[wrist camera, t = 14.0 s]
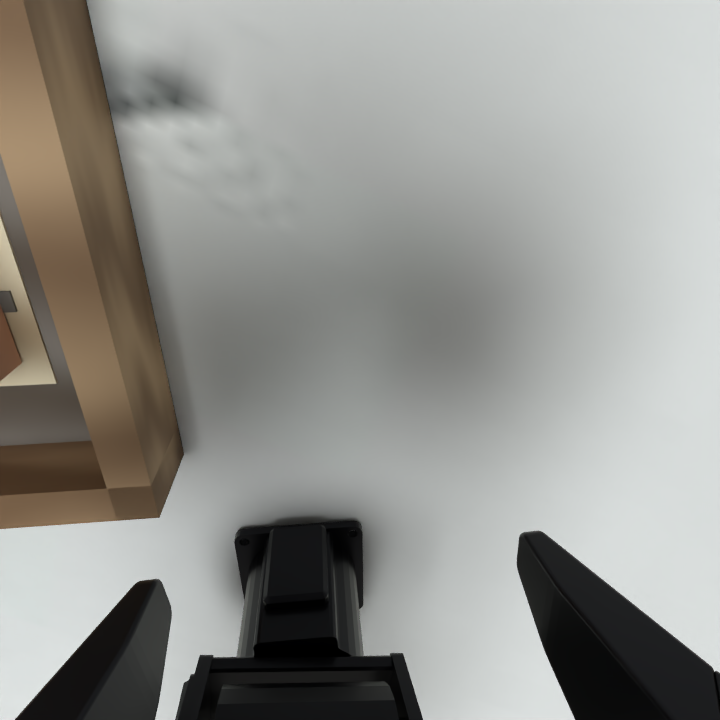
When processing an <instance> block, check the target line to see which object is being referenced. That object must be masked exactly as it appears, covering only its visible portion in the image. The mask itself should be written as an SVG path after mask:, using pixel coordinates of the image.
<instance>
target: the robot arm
mask: <svg viewBox="0 0 720 720" xmlns="http://www.w3.org/2000/svg"><path fill="white" fill-rule="evenodd" d="M351 530H355V531H351ZM243 538H245V539H247V540H245V539H243ZM235 549H236V554H237V560H238V566H239V571H240V577H241V583H242V588H243V594H244V600H245V601H244V608H243V615H242V623H241V630H240V637H239V644H238V651H237V657H214V658H213V655H200V657H199V660H198V664H197V667H196V671H195V674H191V676H190V679H189V680H188V681H187V682H185V683H184V685H183V689H182V694H181V698H180V702H179V707H178V711H177V715H176V719H175V720H423V718H422V715H421V711H420V708H419V705H418V702H417V698H416V695H415V692H414V688H413V685H412V682H411V679H410V675H409V672H408V669H407V665H406V662H405V659H404V656H403V653H390V656H364V655H363V644H362V634H361V624H360V613H359V609H360V608H361V607H362V606H363V549H362V527H361V524H360V523H359V522H357V521H343V522H329V523H316V524H302V525H289V526H276V527H262V528H249V529H241V530H239V531H238V532H237V533H236V536H235ZM517 568H518V573H519V576H520V579H521V582H522V585H523V588H524V591H525V594H526V597H527V600H528V603H529V606H530V609H531V612H532V615H533V618H534V621H535V624H536V627H537V630H538V633H539V636H540V639H541V642H542V645H543V647H544V650H545V653H546V655H547V657H548V660H549V662H550V664H551V667H552V669H553V671H554V673H555V676H556V678H557V680H558V682H559V685H560V687H561V689H562V691H563V693H564V696H565V698H566V700H567V702H568V705H569V707H570V709H571V711H572V714H573V716H574V718H575V720H720V673H719V672H718V671H715V672H714V670H713V668H712V667H711V666H710V665H709V664H708V663H706V662H705V661H704V660H703V659H701V658H700V657H699V656H698V655H696V654H695V653H694V652H693V651H691V650H690V649H689V648H688V647H686V646H685V645H684V644H683V643H681V642H680V641H679V640H678V639H676V638H675V637H674V636H673V635H671V634H670V633H669V632H668V631H666V630H665V629H664V628H663V627H661V626H660V625H659V624H658V623H656V622H655V621H654V620H652V619H651V618H650V617H649V616H647V615H646V614H645V613H644V612H642V611H641V610H640V609H639V608H637V607H636V606H635V605H634V604H632V603H631V602H630V601H629V600H627V599H626V598H625V597H624V596H622V595H621V594H620V593H619V592H617V591H616V590H615V589H614V588H612V587H611V586H610V585H609V584H607V583H606V582H605V581H604V580H602V579H601V578H600V577H599V576H597V575H596V574H595V573H594V572H592V571H591V570H590V569H589V568H587V567H586V566H585V565H584V564H582V563H581V562H580V561H579V560H577V559H576V558H575V557H574V556H572V555H571V554H570V553H569V552H567V551H566V550H565V549H564V548H562V547H561V546H560V545H558V544H557V543H556V542H555V541H553V540H552V539H551V538H550V537H548V536H547V535H546V534H545V533H543V532H541V531H531V532H524V533H521V535H520V537H519V545H518V554H517ZM171 616H172V612H171V605H170V603H169V600H168V597H167V595H166V592H165V589H164V587H163V584H162V582H161V581H160V580H159V579H152V580H144V581H139V582H137V583H136V584H135V585H134V586H133V587H132V588H131V589H130V590H129V591H128V592H127V594H126V595H125V596H124V597H123V598H122V599H121V600H120V602H119V603H118V604H117V605H116V606H115V607H114V608H113V609H112V611H111V612H110V613H109V614H108V615H107V616H106V617H105V618H104V620H103V621H102V622H101V623H100V624H99V625H98V626H97V627H96V629H95V630H94V631H93V632H92V633H91V634H90V635H89V637H88V638H87V639H86V640H85V641H84V642H83V643H82V644H81V646H80V647H79V648H78V649H77V650H76V651H75V652H74V653H73V655H72V656H71V657H70V658H69V659H68V660H67V661H66V662H65V664H64V665H63V666H62V667H61V668H60V669H59V670H58V671H57V673H56V674H55V675H54V676H53V677H52V678H51V679H50V681H49V682H48V683H47V684H46V685H45V686H44V687H43V688H42V690H41V691H40V692H39V693H38V694H37V695H36V696H35V697H34V699H33V700H32V701H31V702H30V703H29V704H28V705H27V706H26V708H25V709H24V710H23V711H22V712H21V713H20V714H19V716H18V717H17V718H16V719H15V720H155V717H156V712H157V708H158V703H159V697H160V691H161V685H162V678H163V671H164V665H165V658H166V651H167V645H168V638H169V631H170V624H171Z"/></svg>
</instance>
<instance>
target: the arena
mask: <svg viewBox="0 0 720 720" xmlns="http://www.w3.org/2000/svg"><path fill="white" fill-rule="evenodd" d="M0 305H1V308H2V311H3V313H4V316H5V319H6V321H7V324H8V327H9V330H10V332H11V335H12V338H13V340H14V343H15V346H16V348H17V351H18V354H19V357H20V359H21V362H22V364H20V365H19V366H18V367H17V368H16V369H14V370H13V371H12V372H11V373H9V374H8V375H7V376H6V377H5V378H3V379H2V380H1V381H0V529H6V528H20V527H34V526H48V525H62V524H76V523H90V522H104V521H117V520H131V519H145V518H159V517H160V515H161V512H162V509H163V507H164V504H165V502H166V499H167V496H168V494H169V491H170V489H171V486H172V484H173V481H174V478H175V476H176V473H177V471H178V468H179V465H180V463H181V460H182V458H183V455H184V452H183V448H182V443H181V438H180V434H179V429H178V425H177V420H176V415H175V411H174V406H173V401H172V397H171V392H170V388H169V383H168V378H167V374H166V369H165V364H164V360H163V355H162V350H161V346H160V341H159V337H158V332H157V327H156V323H155V318H154V313H153V309H152V304H151V300H150V295H149V290H148V286H147V281H146V276H145V272H144V267H143V262H142V258H141V253H140V249H139V244H138V239H137V235H136V230H135V225H134V221H133V216H132V212H131V207H130V202H129V198H128V193H127V188H126V184H125V179H124V174H123V170H122V165H121V161H120V156H119V151H118V147H117V142H116V137H115V133H114V128H113V124H112V119H111V114H110V110H109V105H108V100H107V96H106V91H105V87H104V82H103V77H102V73H101V68H100V63H99V59H98V54H97V49H96V45H95V40H94V36H93V31H92V26H91V22H90V17H89V12H88V8H87V3H86V0H0Z"/></svg>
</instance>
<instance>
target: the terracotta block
mask: <svg viewBox="0 0 720 720" xmlns="http://www.w3.org/2000/svg"><path fill="white" fill-rule="evenodd" d="M20 364H22V362H21V359H20V357H19V354H18V351H17V348H16V346H15V343H14V340H13V338H12V335H11V332H10V330H9V327H8V324H7V321H6V319H5V316H4V313H3V311H2V308H1V305H0V381H1V380H2V379H3V378H5V377H6V376H7V375H8V374H9V373H11V372H12V371H13V370H14V369H16V368H17V367H18V366H19V365H20Z"/></svg>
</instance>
